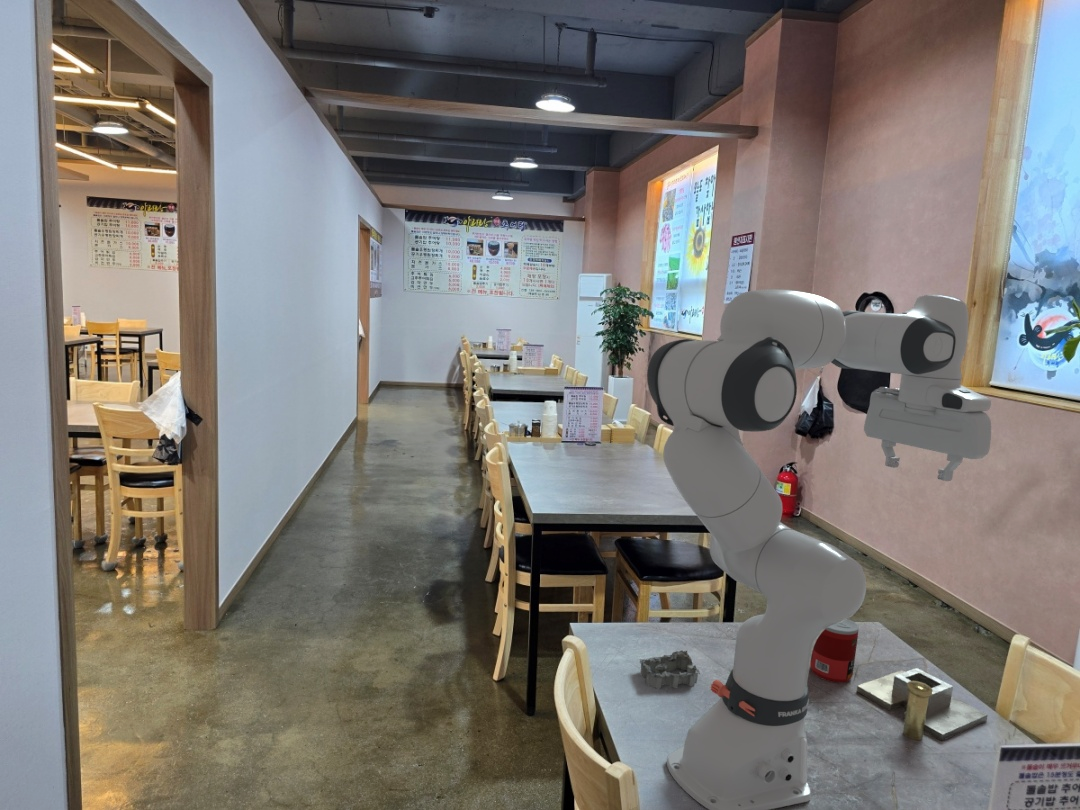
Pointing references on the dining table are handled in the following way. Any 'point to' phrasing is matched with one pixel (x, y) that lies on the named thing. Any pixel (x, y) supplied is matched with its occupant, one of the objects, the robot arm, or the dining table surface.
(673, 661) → the egg carton
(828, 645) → the canned food
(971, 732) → the dining table surface
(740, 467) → the robot arm
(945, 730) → the silver plate with socket
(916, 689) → the hinge pin
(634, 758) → the dining table surface
